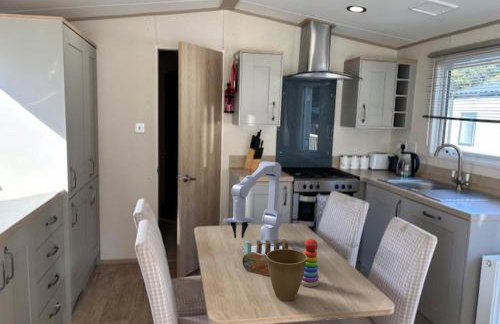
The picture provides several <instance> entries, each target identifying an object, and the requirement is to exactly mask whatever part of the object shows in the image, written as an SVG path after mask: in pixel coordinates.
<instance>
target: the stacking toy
mask: <svg viewBox="0 0 500 324" xmlns="http://www.w3.org/2000/svg"><path fill="white" fill-rule="evenodd" d="M318 245H319V244H318V242H317V240H315V239H314V238H308V239H306V241H305V242H304V247H305V250H304V252H303V253H304V254H305V255H306V256H307V260H306V266H305V270H304V275H303V278H302V282H301V285H302V286H305V287H309V288H312V287H316V286H318V285H319V282H320V280H319V278H320V277H319V276H320V275H319V266H318V264H319V263H318V256H317V255H318V252H317V249H318Z"/></svg>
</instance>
